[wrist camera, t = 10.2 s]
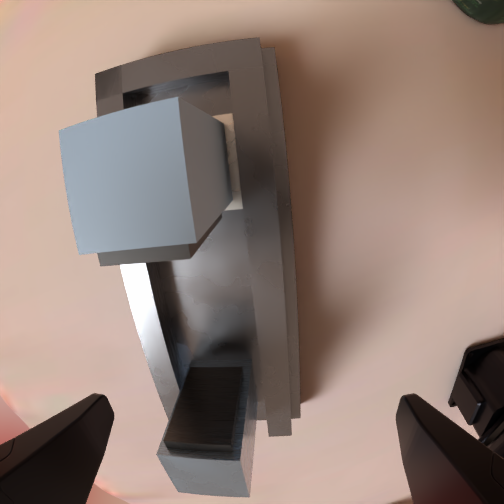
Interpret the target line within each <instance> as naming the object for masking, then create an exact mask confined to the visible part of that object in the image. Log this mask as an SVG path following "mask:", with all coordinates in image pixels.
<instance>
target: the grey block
mask: <svg viewBox="0 0 504 504" xmlns="http://www.w3.org/2000/svg"><path fill="white" fill-rule="evenodd" d="M59 138H60V148H61V157H62V166H63V173H64V180H65V187H66V193H67V199H68V205H69V210H70V215H71V221H72V226H73V230H74V235H75V239H76V244H77V248H78V252H79V255H82V254H91V253H97V254H98V258H99V262H100V266H112V265H124V264H136V263H149V262H161V261H173V260H185V259H191V258H192V257H193V255H194V254H195V253H196V251H197V250H198V249H199V247H200V246H201V245H202V244H203V242H204V241H205V240H206V238H207V237H208V236H209V234H210V233H211V232H212V231H213V229H214V228H215V227H216V225H217V224H218V223H219V221H220V220H221V219H222V212H223V211H224V210H225V209H226V208H227V206H228V205H229V204H230V203H231V202H232V201H233V196H232V188H231V179H230V171H229V162H228V154H227V145H226V137H225V128H224V123H222V122H221V121H219V120H217V119H216V118H214V117H212V116H211V115H209V114H207V113H205V112H204V111H202V110H200V109H199V108H197V107H195V106H193V105H192V104H190V103H188V102H186V101H185V100H183V99H181V98H179V97H174V98H169V99H165V100H160V101H156V102H151V103H147V104H143V105H139V106H135V107H132V108H128V109H124V110H120V111H117V112H113V113H110V114H107V115H103V116H100V117H97V118H94V119H91V120H87V121H84V122H81V123H79V124H76V125H73V126H70V127H67V128H64V129H62V130H59Z"/></svg>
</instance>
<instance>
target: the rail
mask: <svg viewBox="0 0 504 504" xmlns="http://www.w3.org/2000/svg"><path fill="white" fill-rule="evenodd" d="M95 85H96V105H97V117H100V116H103V115H107V114H110V113H113V112H117V111H120V110H124V109H128V108H132V107H135V106H139V105H143V104H147V103H151V102H156V101H160V100H165V99H169V98H174V97H179V98H181V99H183V100H185V101H186V102H188V103H190V104H192V105H193V106H195V107H197V108H199V109H200V110H202V111H204V112H205V113H207V114H209V115H211V116H212V117H214V118H216V119H217V120H219V121H221V122H222V123H224V128H225V137H226V145H227V154H228V162H229V171H230V179H231V188H232V196H233V201H232V202H231V203H230V204H229V205H228V206H227V208H226V209H225V210H224V211H223V212H222V219H221V220H220V221H219V223H218V224H217V225H216V227H215V228H214V229H213V231H212V232H211V233H210V234H209V236H208V237H207V238H206V240H205V241H204V242H203V244H202V245H201V246H200V247H199V249H198V250H197V251H196V253H195V254H194V255H193V257H192V258H191V259H185V260H173V261H161V262H149V263H136V264H124V265H120V267H121V272H122V276H123V280H124V284H125V288H126V292H127V296H128V299H129V303H130V307H131V311H132V314H133V318H134V321H135V325H136V328H137V331H138V335H139V338H140V341H141V344H142V347H143V351H144V354H145V357H146V360H147V363H148V366H149V369H150V372H151V374H152V377H153V380H154V383H155V386H156V388H157V391H158V394H159V397H160V399H161V402H162V404H163V407H164V410H165V412H166V415H167V417H168V420H169V422H168V424H167V427H166V430H165V432H164V435H163V438H162V441H161V443H160V446H159V449H158V452H157V454H156V455H157V456H158V458H159V460H160V462H161V464H162V465H163V467H164V469H165V471H166V472H167V474H168V476H169V477H170V479H171V481H172V483H173V484H174V486H175V487H176V489H177V491H178V492H182V493H190V494H200V495H211V496H227V497H250V489H251V478H252V466H253V454H254V442H255V430H256V420H267V424H268V433H269V436H290V435H292V431H291V419H295V418H300V363H299V333H298V309H297V288H296V270H295V254H294V239H293V224H292V211H291V198H290V186H289V175H288V164H287V153H286V143H285V133H284V123H283V114H282V105H281V96H280V88H279V80H278V72H277V64H276V56H275V49H274V47H272V48H261V46H260V38H249V39H240V40H233V41H226V42H219V43H213V44H207V45H201V46H196V47H191V48H186V49H181V50H176V51H172V52H168V53H163V54H159V55H155V56H152V57H148V58H144V59H140V60H137V61H133V62H130V63H127V64H123V65H120V66H117V67H114V68H111V69H108V70H105V71H102V72H99V73H96V74H95Z"/></svg>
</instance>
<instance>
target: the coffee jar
mask: <svg viewBox="0 0 504 504" xmlns="http://www.w3.org/2000/svg"><path fill="white" fill-rule="evenodd" d="M453 2H454V3H455V4H456V5H457V6H458V7H459V8H460V9H461V10H462V11H463V12H464V13H465V14H467V15H468V16H470V17H472V18H474V19H475V20H477V21H479V22H482V23H485V24H499V23H504V0H453Z"/></svg>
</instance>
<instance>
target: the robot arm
mask: <svg viewBox="0 0 504 504" xmlns="http://www.w3.org/2000/svg"><path fill="white" fill-rule="evenodd" d="M448 404H449V406H450V407H454V406H458V408H459V410H460V411H461V413H462V415H463V417H464V418H465V420H466V422H467V424H468V425H473V427H474V428H475V430H476V432H477V434H478V436H479V437H480V438H479V439H478V440H477V439H476V438H475V437H473V436H472V435H470V434H469V433H468V432H466V431H465V430H464V429H462V428H461V427H460V426H458V425H457V424H456V423H454V422H453V421H452V420H450V419H449V418H448V417H446V416H445V415H443V414H442V413H441V412H439V411H438V410H437V409H435V408H434V407H433V406H431V405H430V404H429V403H427V402H426V401H425V400H423V399H422V398H421V397H419V396H418V395H417V394H414V393H413V394H407V395H403V396H402V397H401V399H400V402H399V406H398V410H397V413H396V424H397V430H398V436H399V442H400V448H401V455H402V461H403V465H404V469H405V473H406V477H407V480H408V484H409V488H410V492H411V496H412V500H413V504H504V338H503V339H500V340H497V341H493V342H490V343H486V344H483V345H479V346H475V347H472V348H469V349H467V350H466V351H465V353H464V356H463V360H462V363H461V366H460V369H459V372H458V376H457V379H456V382H455V385H454V387H453V390H452V393H451V396H450V399H449V401H448ZM113 421H114V412H113V409H112V407H111V405H110V403H109V401H108V399H107V397H106V396H105V395H103V394H97V393H94V394H92V395H90V396H88V397H86V398H85V399H83V400H81V401H79V402H78V403H76V404H74V405H72V406H71V407H69V408H67V409H65V410H64V411H62V412H60V413H58V414H57V415H55V416H53V417H51V418H49V419H48V420H46V421H44V422H42V423H40V424H39V425H37V426H35V427H33V428H31V429H29V430H28V431H26V432H24V433H22V434H21V435H18V436H17V437H16V438H13V439H11V440H9V441H7V442H5V443H3V444H1V445H0V504H86V502H87V498H88V496H89V493H90V491H91V488H92V485H93V483H94V480H95V477H96V475H97V472H98V470H99V467H100V464H101V462H102V459H103V456H104V453H105V450H106V446H107V443H108V439H109V435H110V432H111V428H112V425H113Z"/></svg>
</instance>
